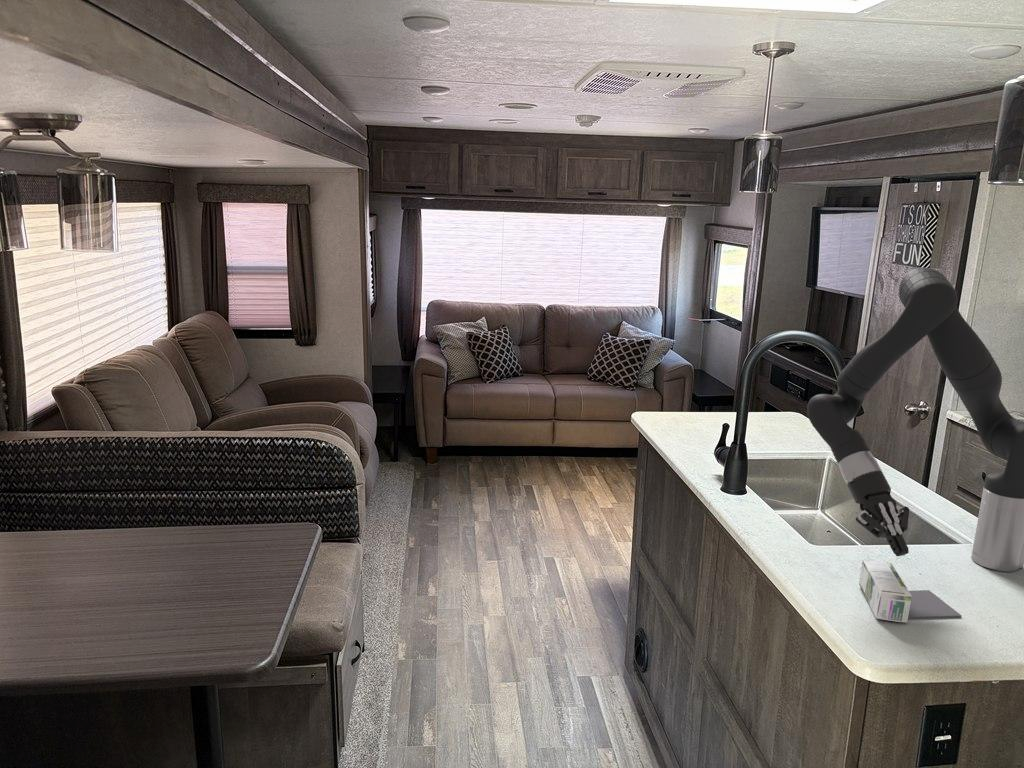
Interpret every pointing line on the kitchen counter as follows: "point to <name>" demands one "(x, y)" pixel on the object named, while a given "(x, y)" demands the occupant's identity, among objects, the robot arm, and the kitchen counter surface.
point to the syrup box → (885, 591)
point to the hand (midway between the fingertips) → (902, 554)
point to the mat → (929, 606)
